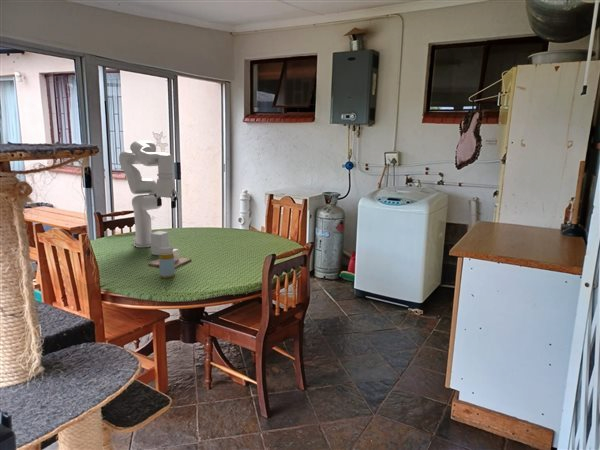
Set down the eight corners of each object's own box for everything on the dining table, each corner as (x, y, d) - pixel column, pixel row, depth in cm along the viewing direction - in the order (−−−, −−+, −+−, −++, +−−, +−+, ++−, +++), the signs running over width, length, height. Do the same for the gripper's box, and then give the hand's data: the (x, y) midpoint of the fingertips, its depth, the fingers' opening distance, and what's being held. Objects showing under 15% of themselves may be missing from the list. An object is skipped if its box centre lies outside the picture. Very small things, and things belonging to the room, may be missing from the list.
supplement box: (169, 252, 248) (168, 231, 245) (161, 255, 241) (160, 234, 238) (159, 251, 250) (158, 230, 247) (151, 254, 243) (149, 233, 241)
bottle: (161, 274, 210) (160, 245, 207) (176, 273, 211) (174, 245, 208) (158, 278, 204) (156, 249, 200) (173, 278, 204) (171, 249, 201)
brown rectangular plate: (148, 265, 223) (147, 256, 222) (167, 257, 238) (167, 248, 237) (173, 269, 218) (172, 259, 217) (191, 261, 233) (191, 252, 231)
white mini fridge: (161, 262, 225) (160, 250, 224) (170, 258, 232) (169, 247, 231) (170, 263, 223) (169, 251, 222) (178, 259, 230) (178, 248, 229)
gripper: (148, 175, 230) (149, 206, 234) (174, 178, 224) (175, 209, 228) (157, 174, 237) (158, 204, 241) (182, 177, 231) (183, 207, 235)
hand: (166, 206), depth 235 cm, fingers open, 9 cm apart
